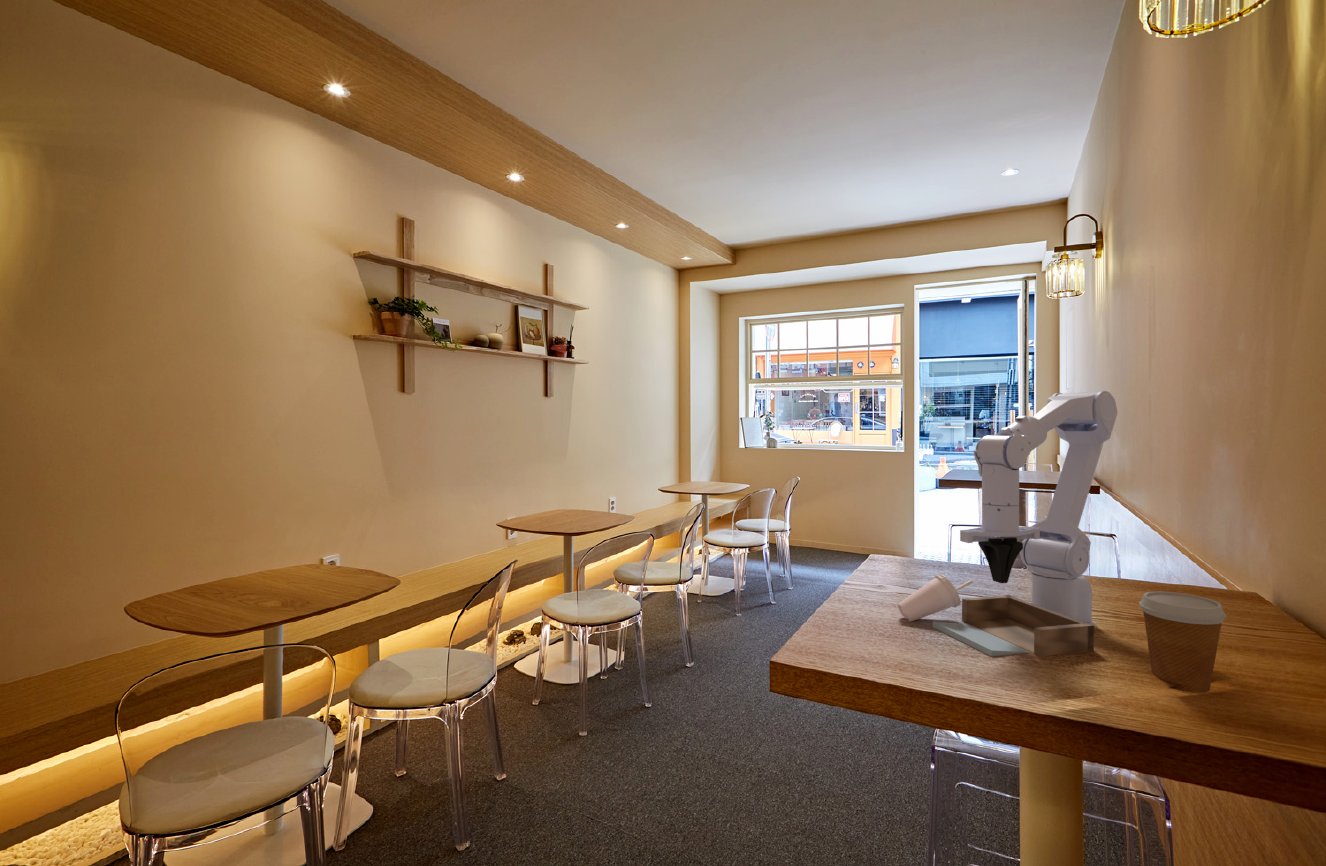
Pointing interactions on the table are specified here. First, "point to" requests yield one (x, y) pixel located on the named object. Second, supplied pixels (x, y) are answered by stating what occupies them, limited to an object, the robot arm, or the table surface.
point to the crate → (1028, 625)
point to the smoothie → (931, 598)
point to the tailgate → (978, 639)
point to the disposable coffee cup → (1182, 638)
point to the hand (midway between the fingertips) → (1000, 581)
